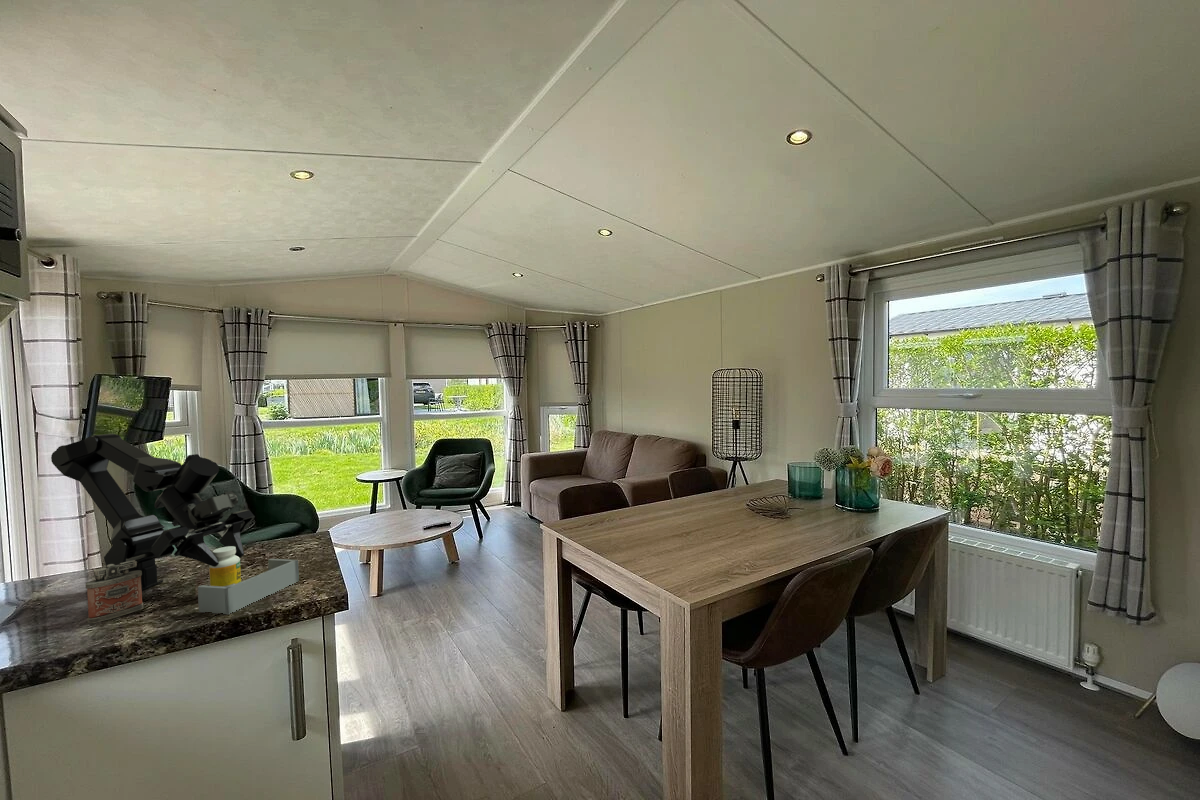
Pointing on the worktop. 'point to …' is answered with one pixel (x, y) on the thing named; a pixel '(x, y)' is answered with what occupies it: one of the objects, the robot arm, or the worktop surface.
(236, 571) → the supplement bottle
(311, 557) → the worktop surface
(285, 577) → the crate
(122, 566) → the lighter
